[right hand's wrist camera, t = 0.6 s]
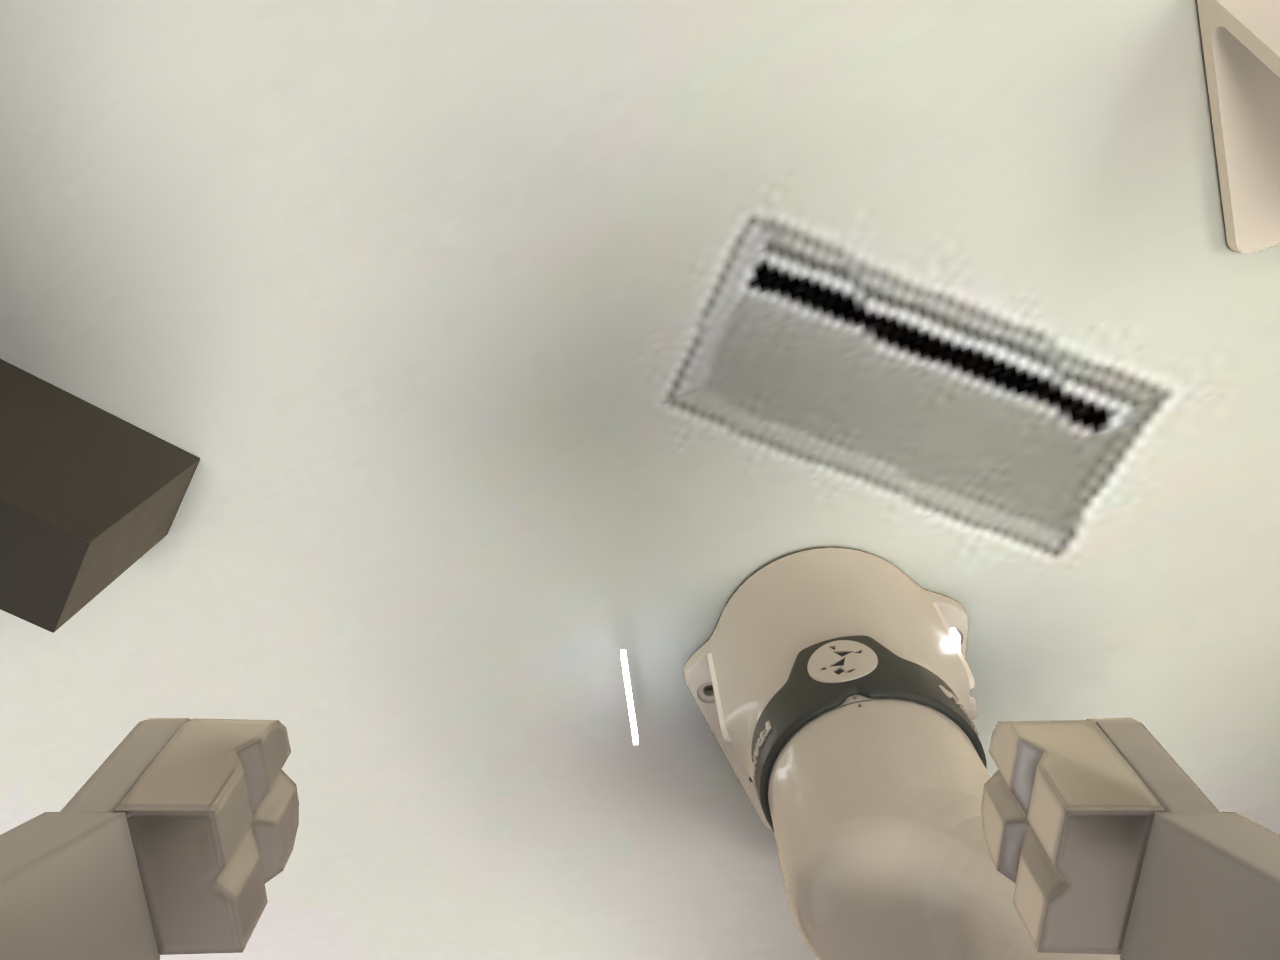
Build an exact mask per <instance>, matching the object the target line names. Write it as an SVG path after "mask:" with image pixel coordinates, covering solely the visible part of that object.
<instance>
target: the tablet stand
mask: <svg viewBox="0 0 1280 960" xmlns="http://www.w3.org/2000/svg"><path fill="white" fill-rule="evenodd" d="M1197 4H1198V12H1199V20H1200V28H1201V36H1202V44H1203V52H1204V60H1205V68H1206V76H1207V84H1208V92H1209V100H1210V109H1211V117H1212V125H1213V133H1214V141H1215V149H1216V157H1217V165H1218V173H1219V181H1220V189H1221V197H1222V205H1223V213H1224V221H1225V229H1226V237H1227V244H1228V246H1229V248H1230V249H1231V250H1233V251H1236V252H1241V253H1246V254H1250V253H1254V252H1257V251H1260V250H1263V249H1266V248H1269V247H1272V246H1275V245H1278V244H1280V0H1197Z"/></svg>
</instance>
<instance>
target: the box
mask: <svg viewBox="0 0 1280 960" xmlns="http://www.w3.org/2000/svg"><path fill="white" fill-rule="evenodd" d="M199 460H200V459H199V458H198V457H195V456H193V455H191V454H189V453H187V452H185V451H183V450H181V449H179V448H177V447H175V446H173V445H171V444H169V443H167V442H165V441H163V440H161V439H159V438H157V437H155V436H153V435H151V434H149V433H147V432H145V431H143V430H141V429H139V428H137V427H135V426H133V425H131V424H129V423H127V422H125V421H123V420H121V419H119V418H117V417H115V416H113V415H111V414H109V413H107V412H105V411H103V410H101V409H99V408H97V407H95V406H93V405H91V404H89V403H87V402H85V401H83V400H81V399H79V398H77V397H75V396H73V395H71V394H69V393H67V392H65V391H63V390H61V389H59V388H57V387H55V386H53V385H51V384H49V383H47V382H45V381H43V380H41V379H39V378H37V377H35V376H33V375H31V374H29V373H27V372H25V371H23V370H21V369H19V368H17V367H15V366H13V365H11V364H9V363H7V362H5V361H3V360H1V359H0V609H1V610H3V611H6V612H8V613H10V614H12V615H15V616H17V617H19V618H21V619H24V620H26V621H28V622H30V623H33V624H35V625H37V626H39V627H41V628H44V629H46V630H48V631H50V632H55V631H56V630H57V629H58V628H60V627H61V626H62V625H63V624H64V623H65V622H66V621H68V620H69V619H70V618H71V617H72V616H73V615H75V614H76V613H77V612H78V611H79V610H80V609H81V608H83V607H84V606H85V605H86V604H87V603H88V602H90V601H91V600H92V599H93V598H94V597H95V596H96V595H98V594H99V593H100V592H101V591H102V590H103V589H105V588H106V587H107V586H108V585H109V584H110V583H112V582H113V581H114V580H115V579H116V578H117V577H118V576H120V575H121V574H122V573H123V572H124V571H125V570H127V569H128V568H129V567H130V566H131V565H132V564H133V563H135V562H136V561H137V560H138V559H139V558H140V557H142V556H143V555H144V554H145V553H146V552H147V551H148V550H150V549H151V548H152V547H153V546H154V545H155V544H157V543H158V542H159V541H160V540H161V539H162V538H164V537H165V536H166V535H167V533H168V531H169V529H170V527H171V524H172V522H173V520H174V517H175V515H176V513H177V510H178V508H179V506H180V504H181V501H182V499H183V497H184V494H185V492H186V490H187V488H188V485H189V483H190V481H191V478H192V476H193V474H194V471H195V469H196V467H197V465H198V462H199Z"/></svg>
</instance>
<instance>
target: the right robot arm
mask: <svg viewBox="0 0 1280 960" xmlns="http://www.w3.org/2000/svg"><path fill="white" fill-rule="evenodd" d="M968 624H969V622H968V616H967V614H966V612H965V609H964V607H963V606H962V605H961V604H960V603H959V602H957V601H956V600H954V599H951V598H949V597H946V596H943V595H940V594H937V593H934V592H930V591H927V590H925V589H923V588H921V587H920V586H919V585H917V584H916V583H915V582H914V581H912V580H911V579H910V578H909V577H908V576H907V575H906V574H905V573H903V572H902V571H901V570H900V569H898V568H897V567H896V566H894V565H893V564H891V563H889V562H887V561H886V560H884V559H882V558H879V557H877V556H875V555H872V554H869V553H866V552H862V551H858V550H853V549H846V548H817V549H810V550H805V551H801V552H797V553H794V554H791V555H788V556H785V557H783V558H780V559H778V560H776V561H774V562H772V563H770V564H768V565H766V566H765V567H763V568H762V569H760V570H759V571H757V572H756V573H755V574H753V575H752V576H751V577H750V578H748V579H747V580H746V581H745V582H744V583H743V584H742V585H741V586H740V587H739V588H738V589H737V591H736V592H735V593H734V594H733V596H732V597H731V598H730V600H729V601H728V603H727V605H726V606H725V608H724V610H723V612H722V614H721V617H720V619H719V621H718V624H717V626H716V629H715V631H714V632H713V634H712V636H711V637H710V639H709V640H708V641H707V642H706V643H705V644H704V645H702V646H701V647H700V648H699V649H698V650H697V651H696V652H695V653H694V654H693V655H692V656H691V657H690V659H689V660H688V661H687V663H686V664H685V666H684V677H685V681H686V684H687V686H688V688H689V690H690V692H691V693H692V695H693V697H694V699H695V701H696V703H697V704H698V706H699V708H700V710H701V712H702V714H703V715H704V717H705V719H706V721H707V723H708V724H709V726H710V728H711V730H712V732H713V734H714V735H715V737H716V739H717V741H718V743H719V745H720V746H721V748H722V750H723V752H724V754H725V756H726V757H727V759H728V761H729V763H730V765H731V766H732V768H733V770H734V772H735V774H736V776H737V777H738V779H739V781H740V783H741V785H742V787H743V788H744V790H745V792H746V794H747V796H748V797H749V799H750V801H751V803H752V805H753V807H754V808H755V810H756V812H757V814H758V816H759V818H760V819H761V821H762V823H763V824H764V825H765V827H766V828H768V829H769V830H772V831H773V832H774V833H775V839H776V844H777V849H778V854H779V859H780V865H781V870H782V875H783V880H784V885H785V891H786V896H787V901H788V906H789V910H790V913H791V917H792V919H793V922H794V924H795V926H796V928H797V930H798V932H799V934H800V935H801V937H802V938H803V940H804V941H805V943H806V944H807V946H808V947H809V948H810V949H811V951H812V952H813V953H814V954H815V955H816V957H817V958H818V959H819V960H1280V835H1278V834H1276V833H1274V832H1272V831H1270V830H1268V829H1266V828H1264V827H1262V826H1260V825H1258V824H1257V823H1255V822H1253V821H1251V820H1249V819H1247V818H1245V817H1243V816H1241V815H1239V814H1237V813H1235V812H1220V811H1219V810H1218V809H1217V808H1216V807H1215V806H1214V805H1213V804H1212V802H1211V801H1210V800H1209V799H1208V798H1207V797H1206V796H1205V794H1204V793H1203V792H1202V791H1201V790H1200V789H1199V788H1198V786H1197V785H1196V784H1195V783H1194V782H1193V781H1192V780H1191V779H1190V777H1189V776H1188V775H1187V774H1186V773H1185V772H1184V771H1183V769H1182V768H1181V767H1180V766H1179V765H1178V764H1177V763H1176V761H1175V760H1174V759H1173V758H1172V757H1171V756H1170V755H1169V754H1168V752H1167V751H1166V750H1165V749H1164V748H1163V747H1162V746H1161V744H1160V743H1159V742H1158V741H1157V740H1156V739H1155V738H1154V736H1153V735H1152V734H1151V733H1150V732H1149V731H1148V730H1147V728H1146V727H1145V726H1144V725H1143V724H1142V723H1140V722H1138V721H1136V720H1134V719H1132V718H1110V719H1087V720H1072V721H998V723H997V725H996V727H995V729H994V731H993V733H992V738H991V744H990V749H989V753H990V755H991V756H992V758H993V760H994V762H995V763H996V765H997V767H998V769H999V770H998V771H997V772H996V773H995V774H994V775H993V776H992V777H991V776H990V775H989V773H988V771H987V768H986V758H985V753H984V751H983V748H982V745H981V742H980V740H979V738H978V732H977V730H976V727H975V725H974V723H973V721H972V720H976V719H977V718H978V707H977V703H976V700H975V699H974V697H970V690H971V689H973V688H974V687H975V682H974V678H973V675H972V672H971V670H970V668H969V666H968V664H967V662H966V649H967V637H968ZM621 663H622V670H623V676H624V683H625V690H626V697H627V704H628V711H629V717H630V724H631V731H632V738H633V745H638V732H637V725H636V718H635V711H634V704H633V697H632V690H631V683H630V676H629V669H628V662H627V655H626V649H622V650H621ZM708 685H712V686H713V689H711V690H706V689H704V688H705V687H706V686H708ZM290 753H291V750H290V745H289V740H288V735H287V730H286V727H285V726H284V725H283V724H282V723H281V722H280V721H278V720H237V719H192V720H191V719H188V718H158V719H148V720H145V721H142V722H139V723H138V724H137V725H136V726H135V727H134V728H133V730H132V731H131V732H130V733H129V734H128V735H127V736H126V738H125V739H124V740H123V741H122V742H121V743H120V744H119V745H118V747H117V748H116V749H115V750H114V751H113V752H112V753H111V755H110V756H109V757H108V758H107V759H106V760H105V761H104V763H103V764H102V765H101V766H100V767H99V768H98V769H97V770H96V772H95V773H94V774H93V775H92V776H91V777H90V778H89V780H88V781H87V782H86V783H85V784H84V785H83V786H82V788H81V789H80V790H79V791H78V792H77V793H76V794H75V796H74V797H73V798H72V799H71V800H70V801H69V802H68V803H67V805H66V806H65V807H64V808H63V809H62V810H61V811H60V812H45V813H43V814H41V815H39V816H37V817H35V818H33V819H31V820H29V821H27V822H25V823H23V824H21V825H19V826H18V827H16V828H14V829H12V830H10V831H8V832H6V833H4V834H2V835H0V960H160V955H168V954H202V953H236V952H243V950H244V948H245V946H246V944H247V942H248V940H249V938H250V936H251V934H252V932H253V930H254V928H255V926H256V924H257V922H258V920H259V918H260V916H261V914H262V912H263V910H264V908H265V906H266V904H267V896H266V890H265V885H264V884H265V883H266V882H268V881H269V880H270V879H272V878H273V877H275V876H276V875H277V874H279V873H280V872H282V871H283V870H284V867H285V865H286V863H287V861H288V859H289V857H290V854H291V852H292V850H293V846H294V841H295V837H296V832H297V828H298V817H299V801H298V794H297V787H296V784H295V783H294V782H293V781H292V780H291V779H290V778H289V777H288V776H287V775H286V774H285V773H284V772H283V771H282V770H281V769H282V767H283V765H284V763H285V762H286V760H287V758H288V756H289V755H290Z"/></svg>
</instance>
